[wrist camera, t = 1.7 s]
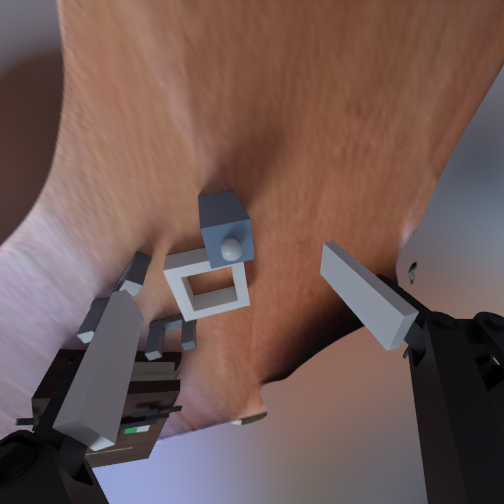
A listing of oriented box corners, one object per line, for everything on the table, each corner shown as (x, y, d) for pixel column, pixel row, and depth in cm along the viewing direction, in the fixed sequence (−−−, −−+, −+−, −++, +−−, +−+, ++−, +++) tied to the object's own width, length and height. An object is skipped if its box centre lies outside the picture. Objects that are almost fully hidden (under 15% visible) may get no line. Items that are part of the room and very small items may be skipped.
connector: (233, 190, 23) (254, 225, 15) (238, 222, 25) (258, 266, 18) (197, 196, 22) (200, 236, 15) (206, 228, 25) (212, 277, 17)
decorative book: (26, 490, 34) (9, 397, 22) (51, 434, 40) (50, 335, 28) (151, 467, 42) (192, 388, 30) (156, 422, 48) (192, 341, 36)
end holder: (237, 240, 26) (242, 253, 24) (245, 290, 32) (249, 305, 29) (165, 255, 25) (163, 270, 23) (186, 305, 30) (185, 321, 28)
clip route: (167, 245, 24) (163, 270, 20) (196, 318, 32) (197, 347, 28) (65, 265, 23) (38, 297, 19) (121, 338, 31) (111, 371, 27)
